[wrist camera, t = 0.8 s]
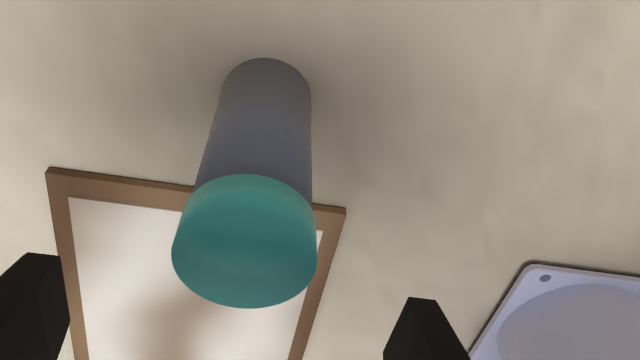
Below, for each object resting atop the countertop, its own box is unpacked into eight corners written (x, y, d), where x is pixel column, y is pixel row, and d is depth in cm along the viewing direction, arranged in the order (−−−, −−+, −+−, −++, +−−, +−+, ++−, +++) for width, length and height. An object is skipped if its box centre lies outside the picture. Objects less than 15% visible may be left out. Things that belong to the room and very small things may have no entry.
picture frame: (345, 208, 21) (347, 227, 20) (286, 403, 31) (285, 423, 30) (49, 166, 20) (35, 185, 19) (82, 386, 29) (75, 406, 28)
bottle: (321, 64, 17) (330, 218, 11) (304, 145, 19) (303, 315, 13) (223, 47, 17) (172, 197, 10) (215, 132, 19) (169, 300, 13)
